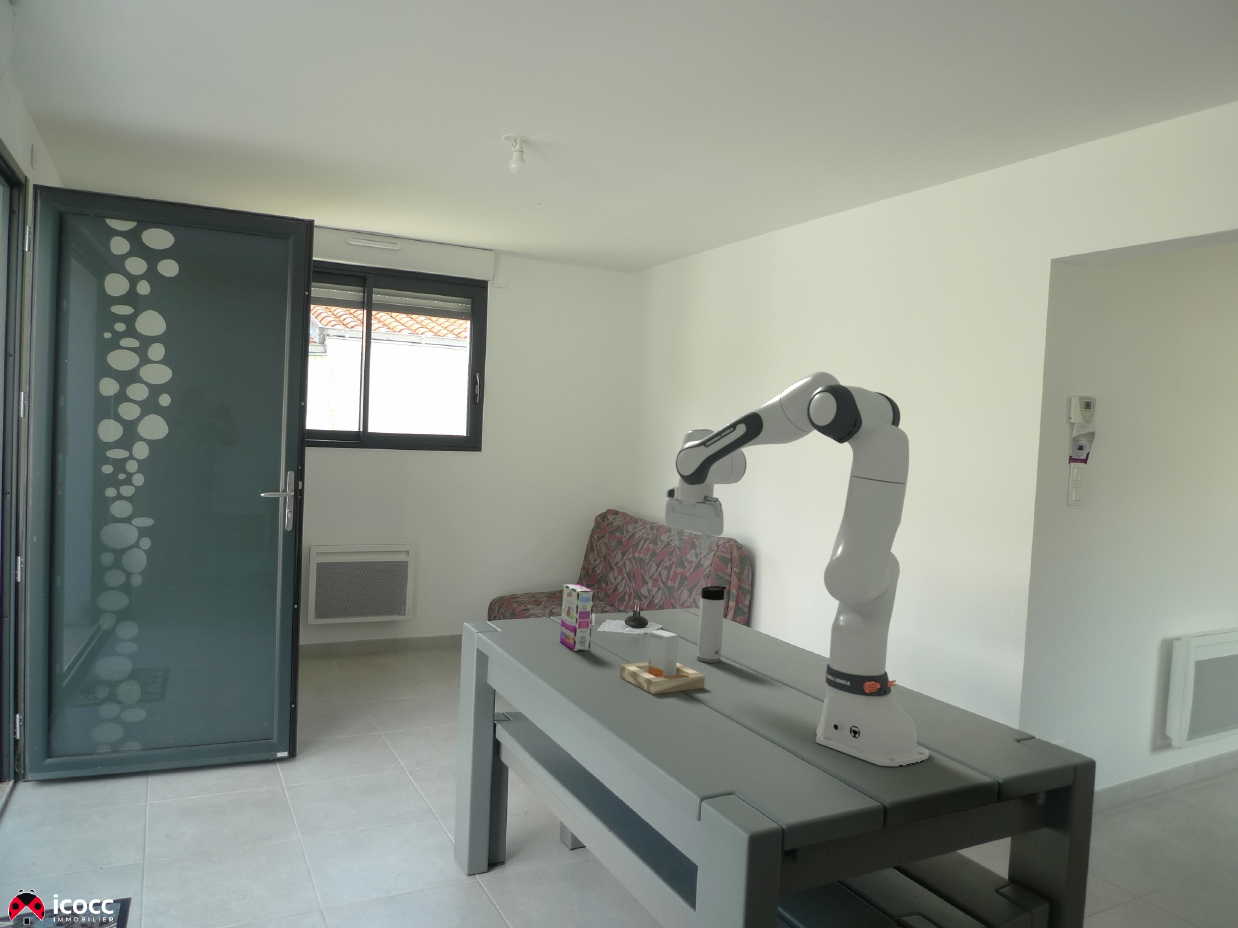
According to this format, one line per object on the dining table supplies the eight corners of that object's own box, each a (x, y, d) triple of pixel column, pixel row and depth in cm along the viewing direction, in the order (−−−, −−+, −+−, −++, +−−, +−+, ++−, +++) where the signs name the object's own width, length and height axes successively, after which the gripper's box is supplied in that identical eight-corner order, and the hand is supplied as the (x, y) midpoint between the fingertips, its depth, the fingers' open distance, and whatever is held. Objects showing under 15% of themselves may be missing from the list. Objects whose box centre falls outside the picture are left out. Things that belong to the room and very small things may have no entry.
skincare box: (645, 680, 206) (648, 631, 205) (658, 677, 209) (661, 629, 208) (663, 686, 201) (666, 636, 201) (676, 684, 204) (679, 634, 204)
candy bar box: (591, 651, 231) (594, 590, 230) (574, 652, 228) (577, 591, 228) (575, 641, 241) (579, 583, 240) (559, 641, 239) (562, 583, 238)
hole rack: (704, 687, 202) (704, 674, 202) (652, 694, 195) (653, 680, 195) (669, 671, 215) (670, 658, 215) (619, 676, 207) (620, 663, 207)
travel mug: (722, 663, 225) (727, 588, 224) (697, 662, 225) (702, 587, 225) (720, 657, 231) (725, 584, 231) (696, 656, 231) (700, 582, 231)
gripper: (731, 498, 206) (727, 555, 207) (682, 490, 224) (678, 543, 224) (711, 498, 203) (707, 555, 203) (662, 490, 220) (658, 543, 221)
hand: (691, 549), depth 214 cm, fingers open, 8 cm apart
